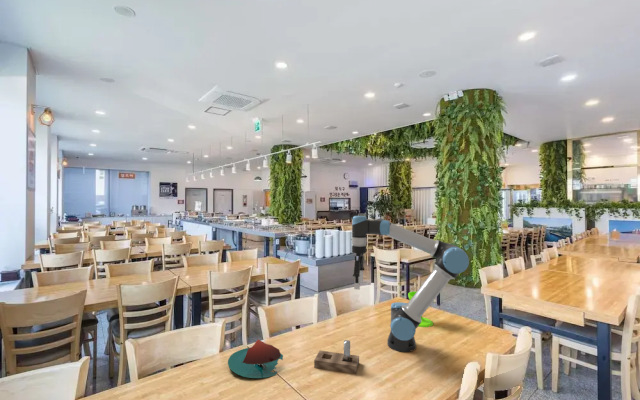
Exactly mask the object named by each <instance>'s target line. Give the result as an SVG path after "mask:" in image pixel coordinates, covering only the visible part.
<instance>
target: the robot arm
mask: <svg viewBox="0 0 640 400" xmlns="http://www.w3.org/2000/svg"><path fill="white" fill-rule="evenodd" d="M351 221H352V222H351V223H352V224H351V229H352V230H351V238H350V240H351V244H352V245H351V253H353V254H355V256H354V270H353V274H352V277H354V283H353V285H354V286H353V287H354V288H353V289H354V290H360V289H361V285H360V284H363V283H364V271H365V266H364V254H366V253H367V246H366V245H367V243H368V241H367V240H368V239H367V235H382V236H387V237H389V238H391V239H394V240H395V241H398V242H401V243H403V244H406V245H407V246H411V247H413V248H415V249H418V250H420V251H421V252H422V251H423V252H424V253H427V254H429V255H430V257H432V258H433V259H436V261H435V262H434V264H433V265H434V268H433V270H432V271H431V272H430V274H429V275H428V276H427V278H426V279H425V280H424V281H423V283H422V284H421V286H419V288H418V289H417V292H416V293H415V295H414V296H413V297H412V299H411V300H408V302H403V301H402V302H396V301H395V302H392V303H391V305H390V325H389V326H390V331H389V335H388V336H387V337H388V338H387V341H386V342H387V346H388V347H389V349H390V348H391V349H392V350H393V351H397V352H404V353H408V352H413V351H415V350H416V349H417V342H416V340H415V334H416V330H417V328H418V326H419V324H420V323H421V316H422V317H423V315H424V314H425V312H426V311H427V310H428V309H429V307H430V306H431V305H432V304H433V303H434V301H435V299H436V298H437V297H438V296H439V294H440V293H441V292H442V290H444V288H445V287H446V285H448V283H449V281H450V280H456V278H457V277H458V276H459V274H461V273H464V272H465V271H466V270H467V268H468V267H469V264H470V258H469V255H468V254H467V253H466V251H465V250H464V249H462V248H461V247H459V246H458V245H455V244H452V243H448V242H444V241H441V240H440V239H437V240H434V239H431V238H429V237H426V236H424V235H421V234H419V233H416V232H415V231H412V230H410V229H406V228H405V227H402V226H399V225H397V224H395V223H392V222H390V220H385V219H383V218H377V219H368V217H367V216H366V215H354V216H353V217H352V220H351Z"/></svg>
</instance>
